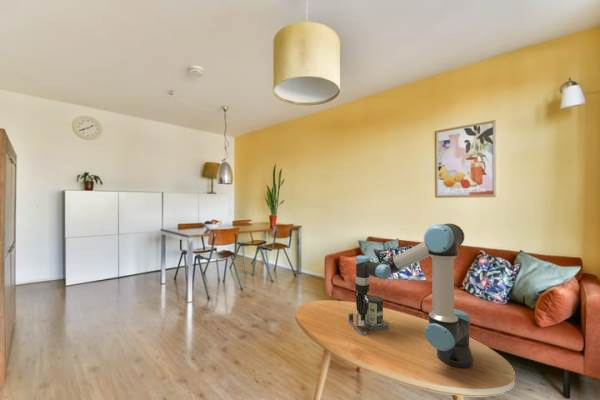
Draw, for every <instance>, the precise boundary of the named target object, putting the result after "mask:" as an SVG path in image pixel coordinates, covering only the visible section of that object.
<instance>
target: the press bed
mask: <svg viewBox="0 0 600 400" xmlns="http://www.w3.org/2000/svg"><path fill="white" fill-rule="evenodd" d="M372 296H376V295H372ZM365 318H366V315H364V326H363V327H365V328H366V330H368V331H370V332H374V331H382V330H389V324H387V323H386V322H385V321H384V320H383V324H382V325H379V326H374V325H370V324H368V323H366V321H365Z"/></svg>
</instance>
